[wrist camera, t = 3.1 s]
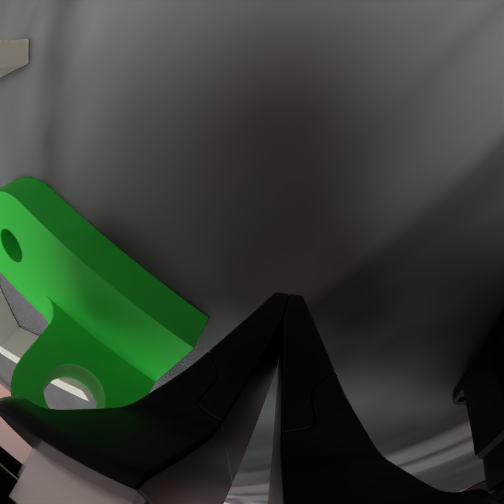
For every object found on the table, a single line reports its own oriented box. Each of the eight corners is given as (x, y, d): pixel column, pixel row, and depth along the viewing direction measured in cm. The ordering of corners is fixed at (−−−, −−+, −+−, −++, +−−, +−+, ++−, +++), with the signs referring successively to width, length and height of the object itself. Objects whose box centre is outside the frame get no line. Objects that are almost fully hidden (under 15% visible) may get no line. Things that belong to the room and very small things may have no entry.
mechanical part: (210, 314, 13) (126, 488, 6) (156, 366, 16) (91, 486, 9) (18, 152, 11) (-117, 229, 4) (5, 235, 14) (-88, 313, 8)
